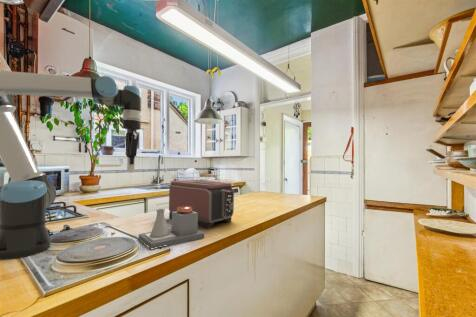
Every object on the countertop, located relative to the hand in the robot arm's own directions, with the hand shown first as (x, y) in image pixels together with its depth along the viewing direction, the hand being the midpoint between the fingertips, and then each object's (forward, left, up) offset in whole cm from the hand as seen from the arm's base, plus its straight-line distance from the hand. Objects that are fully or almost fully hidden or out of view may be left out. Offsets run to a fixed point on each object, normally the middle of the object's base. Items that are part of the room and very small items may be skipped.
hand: (130, 171), depth 109 cm
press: (+10, -24, -26) cm, 37 cm away
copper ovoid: (+16, -24, -23) cm, 36 cm away
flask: (+5, -24, -24) cm, 34 cm away
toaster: (+35, -7, -27) cm, 45 cm away
